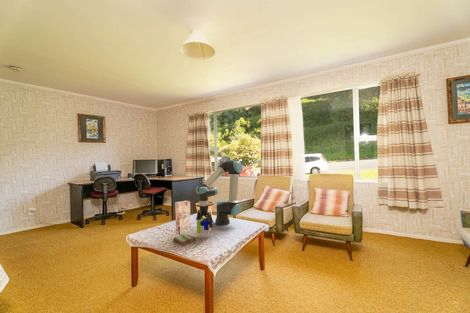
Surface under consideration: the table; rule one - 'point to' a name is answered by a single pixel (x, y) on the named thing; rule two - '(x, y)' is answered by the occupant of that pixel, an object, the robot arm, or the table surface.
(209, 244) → the table surface
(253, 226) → the table surface
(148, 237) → the table surface
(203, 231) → the puzzle toy
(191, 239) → the plinth
